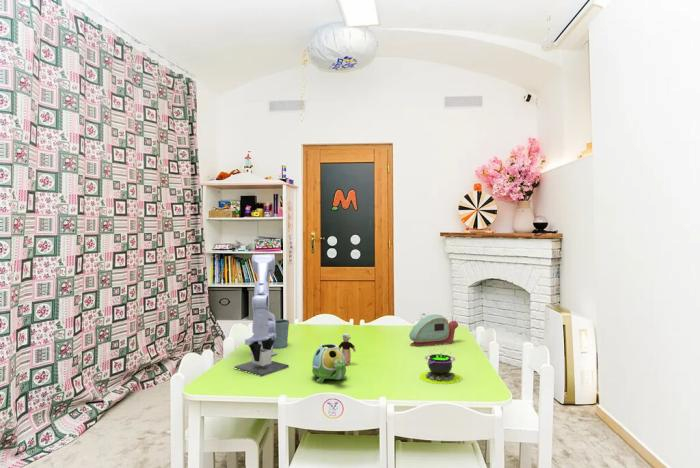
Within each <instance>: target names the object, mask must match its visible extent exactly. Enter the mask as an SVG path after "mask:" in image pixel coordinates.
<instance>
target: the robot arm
mask: <svg viewBox="0 0 700 468" xmlns="http://www.w3.org/2000/svg"><path fill="white" fill-rule="evenodd" d="M275 267H276V255H275V254H274V253H272V254H268V253H267V254H252V255H251V268H252V272H253V274H254V275H257V281H255V283H254V287H253V288H254V290H253V296H252V298H251V299H252V300H251V306H252V307H251V308H252V314H253V317H252V334H253V335H252V336H251V337H249V338H246V339H245V340H244V342H245V343H244V345H245V346H248V347H249V348H250V352H249V355H250V356H252V353H253V356H254V360H255V361H259V358H260V349H261V348H262V349H266V350H271V357H272V356H274V355H277V354H278V353H277V352H274V351H273V343H274V340H273V338H276V333H275V331H276V321H275V319H276V316H275V314H273V313H272V312H270V277H271V275H272V274H274V273H275V271H276V270H275V269H276V268H275Z"/></svg>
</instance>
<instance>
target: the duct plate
mask: <svg viewBox="0 0 700 468" xmlns="http://www.w3.org/2000/svg"><path fill="white" fill-rule="evenodd" d="M289 367H290V366H289V364H288V363H282V362H278V361H274V360H271V363H270V364H267V365H264V366H262V365H258V364H254V363H252V360H250V361H248V362H245V363H240V364H237V365H235V366H233V369H234V368H237V369H240V370H243V371H242V372H244V371H247V372H246V373H248V372H250V373H249V374H251V373H253V374H252V375H255V374H256V375H255V376H258V375H260V376H259V377H263V376H264V377H265V376H267V375H270V374H272V373H276V372H279V371H282V370H285V369H287V368H289ZM237 369H236V370H237ZM240 370H239V371H240Z"/></svg>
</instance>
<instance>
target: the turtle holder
mask: <svg viewBox="0 0 700 468" xmlns="http://www.w3.org/2000/svg"><path fill="white" fill-rule="evenodd" d="M338 347H339V346H338V345H336V344H335V343H324V344H321V345H319V347H318V348H317V349H316V351H315V352H314V354H313V358H312V363H311V366H312V370H311V372H312V374H313V376H314V377H315V378H317V379H316V382H317V383H318V384H323V383H324V380H325V379H327V380H336V381H337V380H342V381H345V380H346V379H347V378H348V377H347V376H346V372H347V365H346V361H345V358H344V355H343V353H342V349H339V348H338Z"/></svg>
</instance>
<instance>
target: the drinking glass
mask: <svg viewBox="0 0 700 468" xmlns="http://www.w3.org/2000/svg"><path fill="white" fill-rule="evenodd" d="M275 321H276V331H275V333H276V338H273V340H274V343H273V349H275V350H278V349H279V350H280V349H285V348H287V347H288V338H289V337H288V336H289V327H290V320H289V319H282V318H281V319H280V318H279V319H278V318H277V319H276V318H275Z"/></svg>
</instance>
